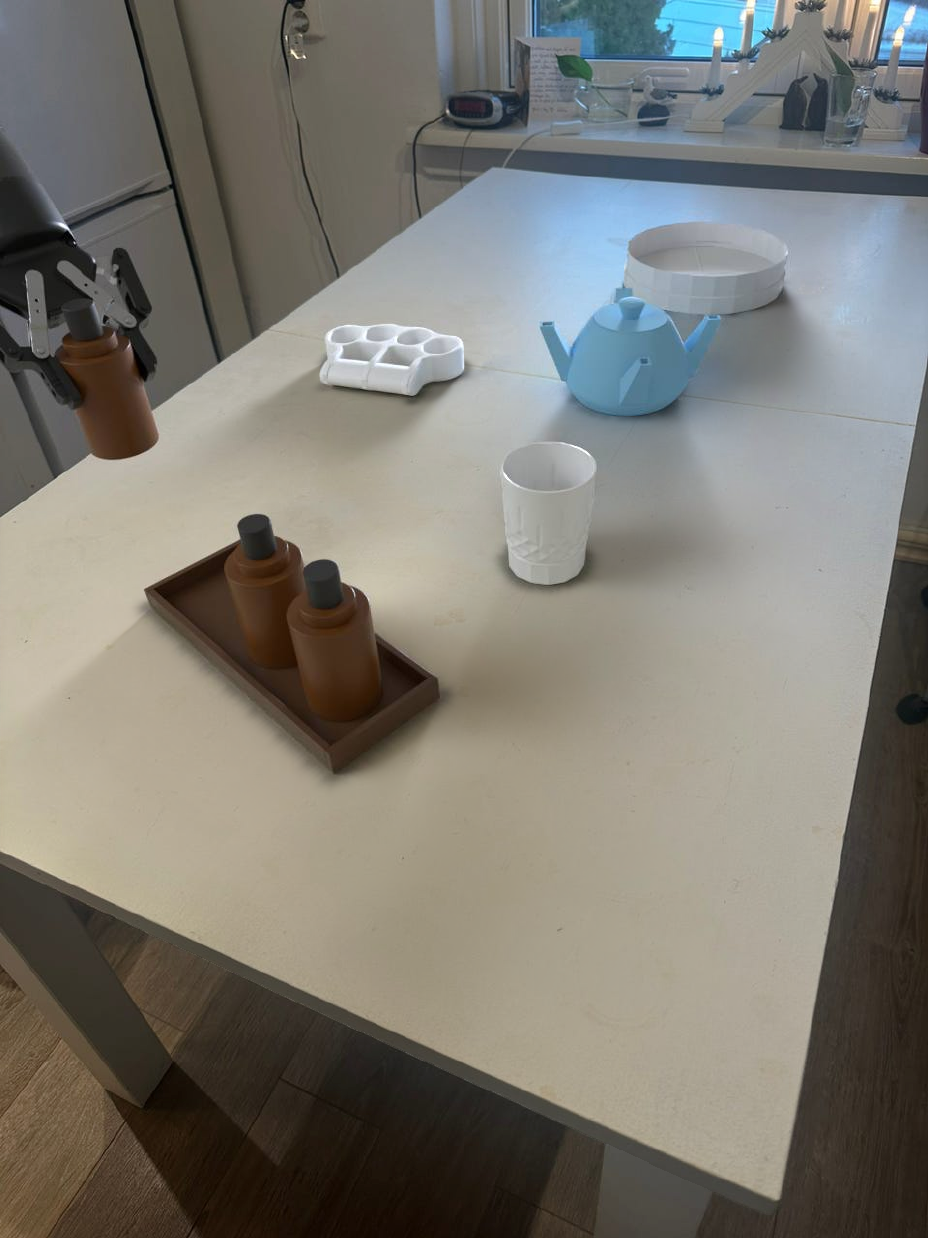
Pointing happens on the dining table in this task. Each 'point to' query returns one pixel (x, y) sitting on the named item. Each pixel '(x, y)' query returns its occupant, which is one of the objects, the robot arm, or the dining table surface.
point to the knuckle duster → (390, 358)
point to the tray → (213, 628)
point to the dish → (705, 267)
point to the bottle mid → (265, 590)
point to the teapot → (629, 356)
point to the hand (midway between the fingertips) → (114, 389)
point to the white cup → (547, 510)
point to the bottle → (106, 385)
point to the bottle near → (335, 645)
